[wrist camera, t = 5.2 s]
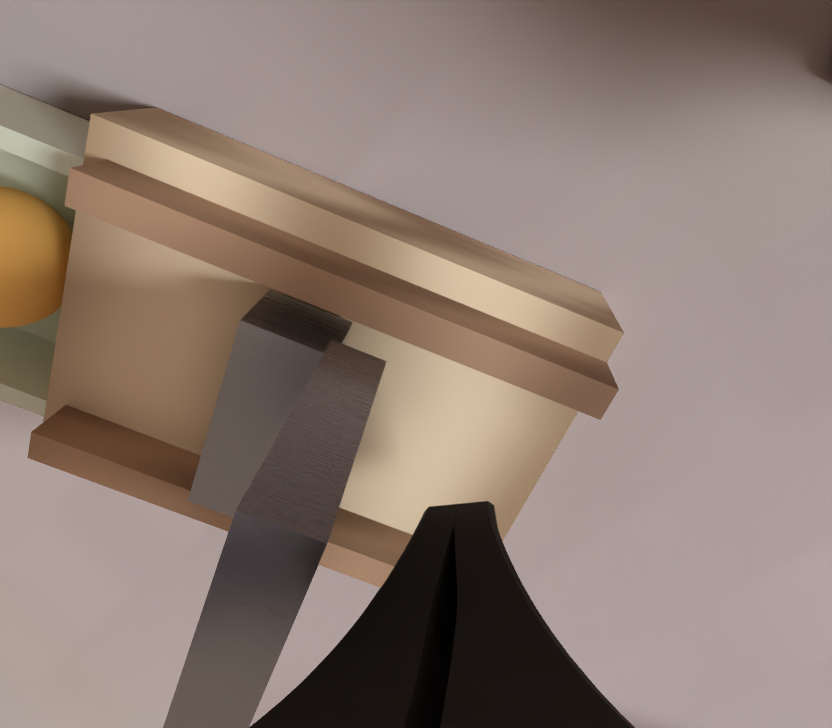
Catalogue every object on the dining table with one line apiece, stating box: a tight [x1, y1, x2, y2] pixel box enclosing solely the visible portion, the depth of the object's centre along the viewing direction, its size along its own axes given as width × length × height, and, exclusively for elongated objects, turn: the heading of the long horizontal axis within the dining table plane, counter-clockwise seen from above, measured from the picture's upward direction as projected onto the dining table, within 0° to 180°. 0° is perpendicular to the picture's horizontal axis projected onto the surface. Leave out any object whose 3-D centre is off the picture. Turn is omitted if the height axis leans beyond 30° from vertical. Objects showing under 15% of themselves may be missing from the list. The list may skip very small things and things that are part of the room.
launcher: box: [28, 107, 624, 587], centre depth 17 cm, size 12×9×4 cm
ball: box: [0, 186, 73, 328], centre depth 16 cm, size 4×4×4 cm
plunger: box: [163, 290, 387, 728], centre depth 12 cm, size 3×5×7 cm, turn 158°
